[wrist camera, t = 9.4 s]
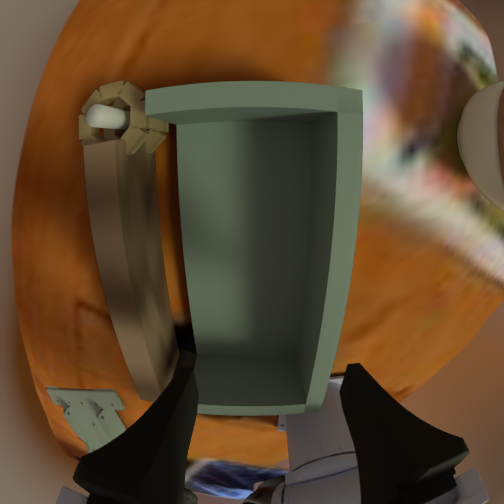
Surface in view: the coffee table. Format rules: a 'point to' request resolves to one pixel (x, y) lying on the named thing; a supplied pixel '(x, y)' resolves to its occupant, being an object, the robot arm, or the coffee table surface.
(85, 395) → the metal bracket
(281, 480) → the lucky cat figurine
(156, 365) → the brown gear-headed lever
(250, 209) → the sage green open box
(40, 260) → the coffee table surface
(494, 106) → the lidded jar
